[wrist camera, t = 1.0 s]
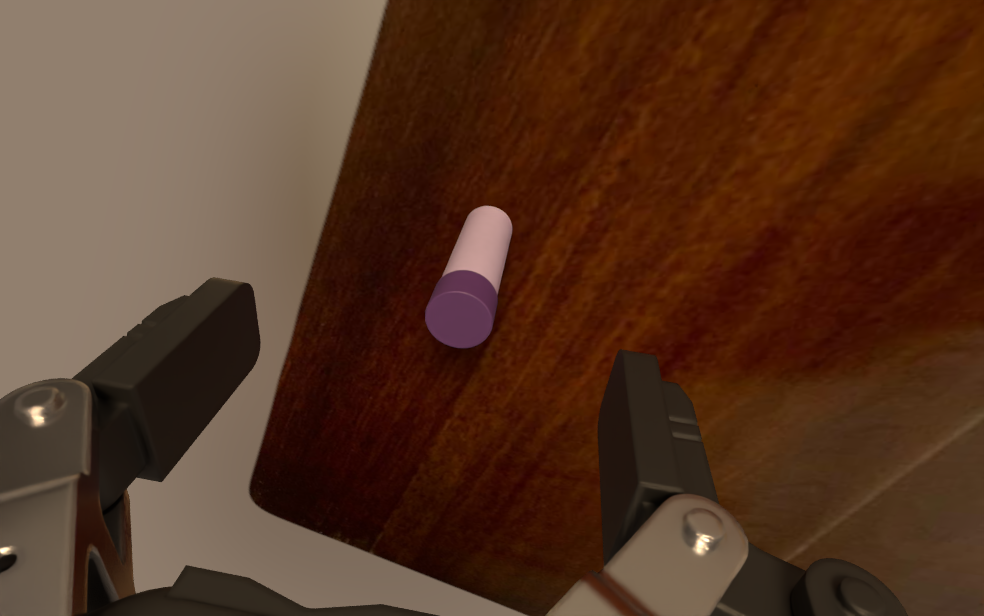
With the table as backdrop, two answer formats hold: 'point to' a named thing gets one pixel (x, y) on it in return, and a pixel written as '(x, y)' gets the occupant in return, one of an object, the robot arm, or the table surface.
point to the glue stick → (471, 281)
